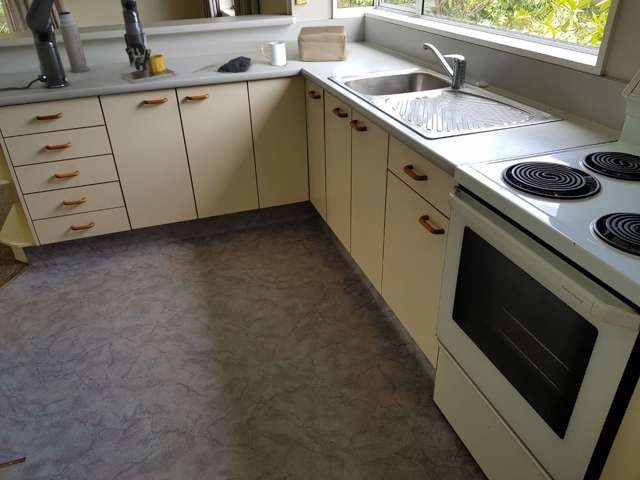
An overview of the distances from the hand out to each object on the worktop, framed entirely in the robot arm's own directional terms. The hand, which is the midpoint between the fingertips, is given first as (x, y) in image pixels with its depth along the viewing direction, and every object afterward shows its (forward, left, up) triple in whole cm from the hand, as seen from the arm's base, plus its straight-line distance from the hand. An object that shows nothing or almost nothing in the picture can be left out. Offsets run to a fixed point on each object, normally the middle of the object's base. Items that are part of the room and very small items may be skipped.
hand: (142, 70), depth 246 cm
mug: (+62, -22, -4) cm, 66 cm away
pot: (+6, +3, -2) cm, 7 cm away
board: (+3, +2, -4) cm, 5 cm away
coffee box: (+10, +28, -4) cm, 30 cm away
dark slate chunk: (+44, -14, -4) cm, 47 cm away
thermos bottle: (-18, +40, -4) cm, 44 cm away
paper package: (+92, -26, -4) cm, 96 cm away
